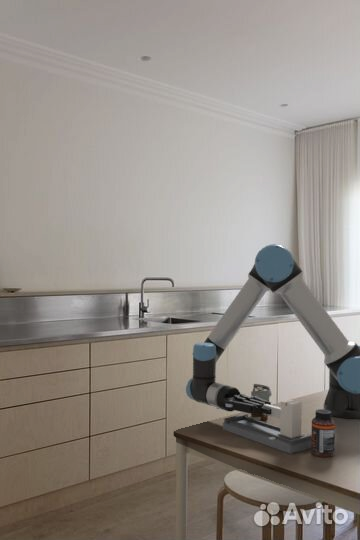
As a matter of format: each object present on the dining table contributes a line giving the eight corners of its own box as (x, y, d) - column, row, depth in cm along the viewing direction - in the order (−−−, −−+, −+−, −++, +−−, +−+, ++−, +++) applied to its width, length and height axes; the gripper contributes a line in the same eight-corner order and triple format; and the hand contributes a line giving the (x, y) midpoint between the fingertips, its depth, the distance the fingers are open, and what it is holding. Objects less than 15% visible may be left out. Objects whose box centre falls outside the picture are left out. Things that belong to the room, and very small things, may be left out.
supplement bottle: (308, 450, 141) (308, 408, 141) (329, 449, 142) (330, 407, 142) (315, 458, 135) (315, 414, 135) (338, 457, 136) (338, 414, 136)
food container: (270, 425, 164) (271, 392, 164) (250, 423, 165) (251, 391, 165) (271, 414, 176) (272, 384, 176) (253, 413, 177) (253, 383, 177)
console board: (246, 423, 165) (246, 413, 165) (314, 446, 144) (314, 434, 144) (222, 429, 159) (223, 418, 159) (290, 453, 138) (290, 441, 138)
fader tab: (289, 434, 148) (290, 398, 148) (303, 438, 144) (304, 402, 144) (277, 437, 145) (278, 401, 145) (291, 442, 141) (292, 405, 141)
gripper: (238, 405, 170) (297, 423, 151) (208, 412, 161) (266, 431, 143) (239, 382, 169) (297, 397, 151) (208, 387, 161) (266, 404, 143)
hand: (282, 413), depth 147 cm, fingers closed
